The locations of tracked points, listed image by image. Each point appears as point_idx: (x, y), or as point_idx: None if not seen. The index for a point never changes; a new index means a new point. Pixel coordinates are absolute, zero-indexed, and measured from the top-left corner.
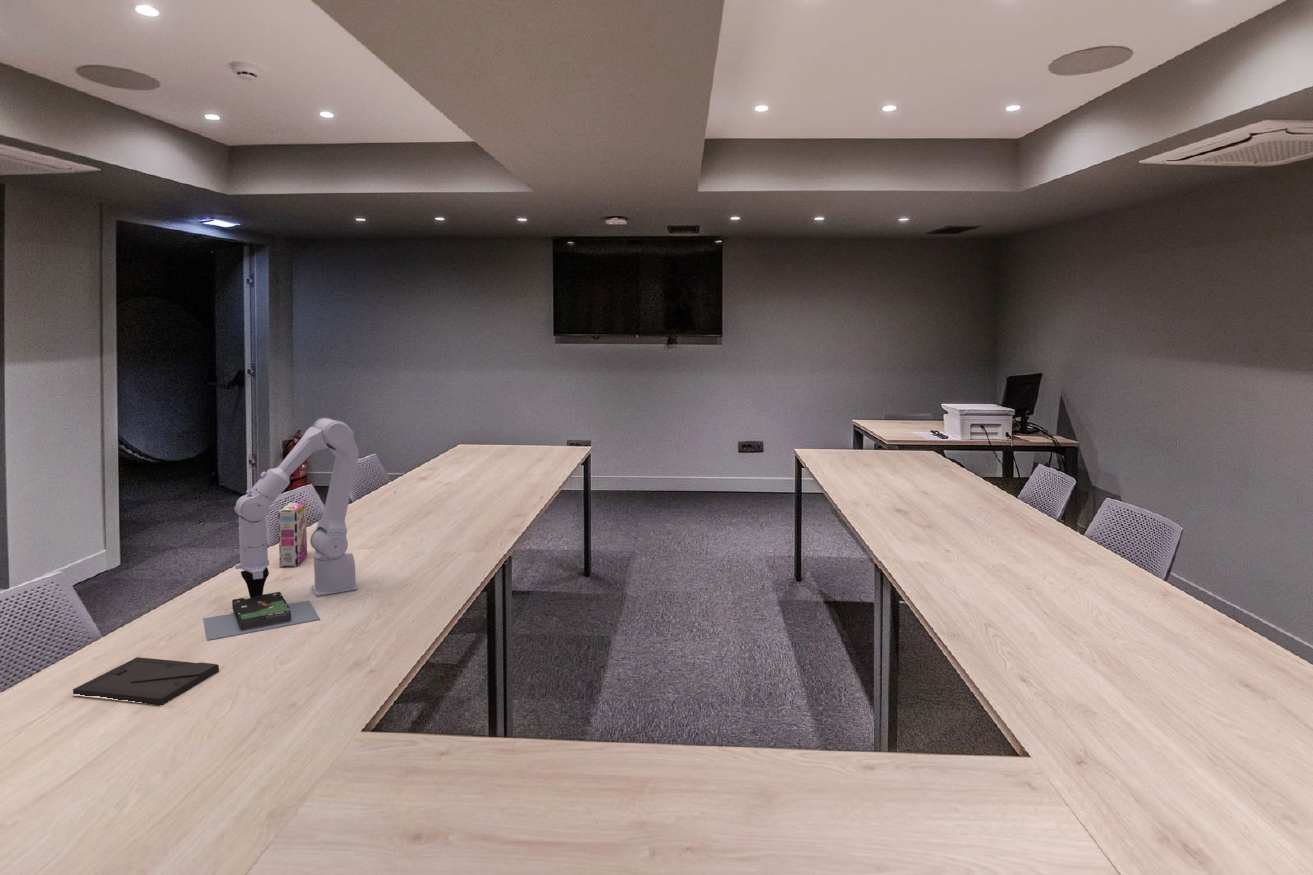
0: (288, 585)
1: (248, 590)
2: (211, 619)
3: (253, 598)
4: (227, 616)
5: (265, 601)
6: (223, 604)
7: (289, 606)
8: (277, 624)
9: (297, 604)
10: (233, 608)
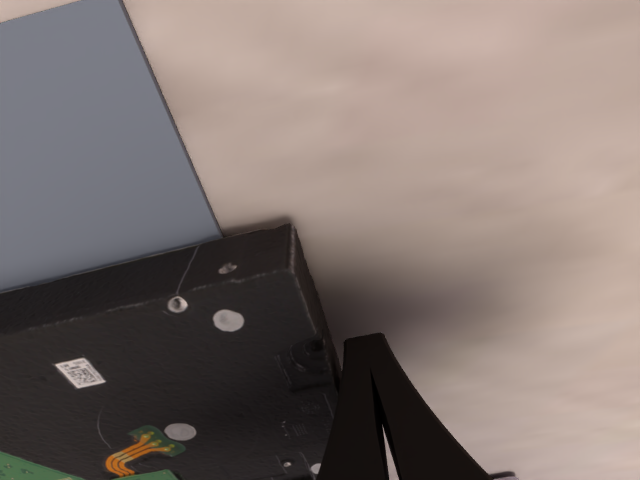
0: (630, 404)
1: (379, 397)
2: (81, 86)
3: (271, 395)
4: (149, 204)
5: (184, 453)
6: (500, 114)
7: None
8: None
9: None
10: (195, 260)
